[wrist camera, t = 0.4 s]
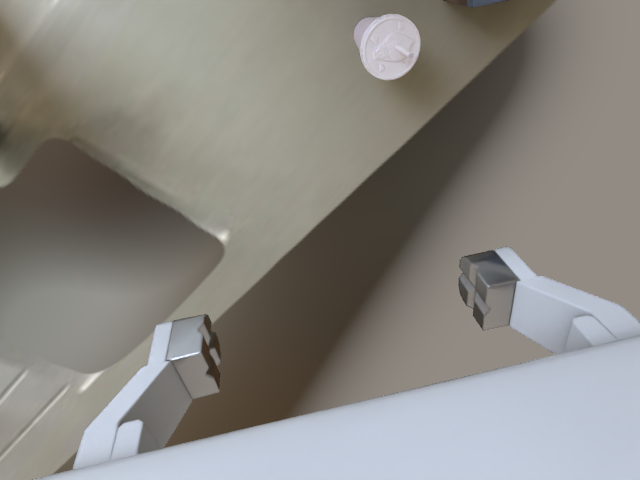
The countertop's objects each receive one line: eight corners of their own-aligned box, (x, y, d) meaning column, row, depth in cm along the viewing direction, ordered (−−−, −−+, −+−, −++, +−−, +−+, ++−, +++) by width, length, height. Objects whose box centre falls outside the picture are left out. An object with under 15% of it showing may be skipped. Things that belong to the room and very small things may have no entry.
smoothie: (398, 50, 54) (442, 77, 42) (351, 69, 54) (382, 101, 43) (386, -5, 50) (431, 9, 39) (336, 16, 50) (365, 36, 39)
